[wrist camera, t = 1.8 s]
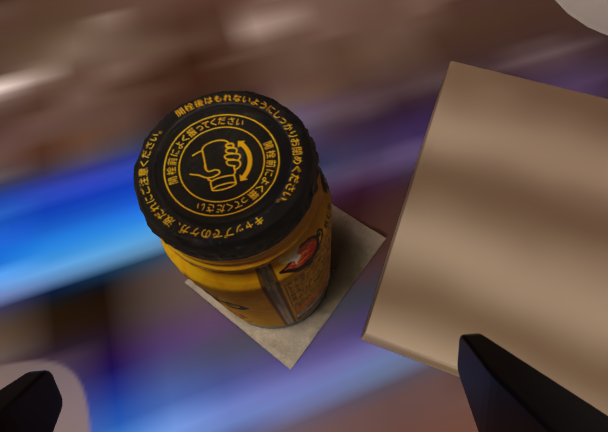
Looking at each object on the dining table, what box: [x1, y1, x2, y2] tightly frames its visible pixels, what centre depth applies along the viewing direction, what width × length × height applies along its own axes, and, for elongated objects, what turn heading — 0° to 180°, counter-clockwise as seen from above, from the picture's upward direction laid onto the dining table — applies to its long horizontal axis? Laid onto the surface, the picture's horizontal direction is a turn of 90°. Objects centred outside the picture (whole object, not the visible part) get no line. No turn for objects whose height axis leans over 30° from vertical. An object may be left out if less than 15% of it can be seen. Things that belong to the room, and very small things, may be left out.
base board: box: [361, 61, 608, 415], centre depth 21 cm, size 16×16×3 cm
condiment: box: [134, 91, 386, 370], centre depth 17 cm, size 7×8×12 cm
